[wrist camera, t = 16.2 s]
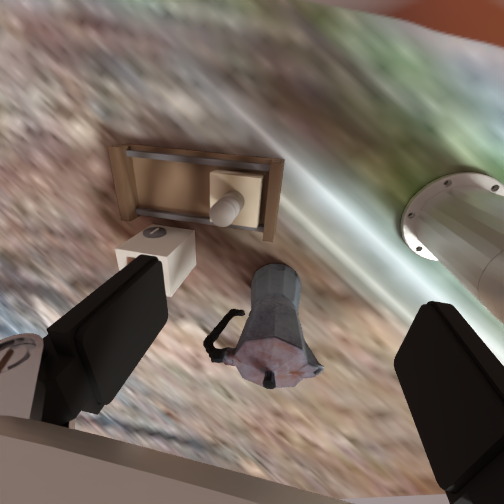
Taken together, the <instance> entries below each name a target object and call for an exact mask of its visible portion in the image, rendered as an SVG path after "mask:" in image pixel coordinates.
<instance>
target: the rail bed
mask: <svg viewBox="0 0 504 504" xmlns="http://www.w3.org/2000/svg"><path fill="white" fill-rule="evenodd" d="M107 147H108V153H109V158H110V163H111V168H112V174H113V179H114V184H115V190H116V195H117V200H118V206H119V211H120V216H121V220H123V221H132V220H133V219H135V218H137V217H139V216H140V215H141V216H149V217H156V218H163V219H170V220H177V221H184V222H191V223H199V224H206V225H213V226H217V225H215V224H214V223H213V222H210V215H209V212H210V172H212V171H214V170H216V169H220V170H229V171H238V172H247V173H256V174H264V182H263V193H262V204H261V214H260V222H259V224H258V226H257V228H253V227H246V226H239V225H232V224H230V225H229V226H226V227H227V228H234V229H241V230H249V231H256V232H263V241H269V242H273V239H274V235H275V231H276V224H277V216H278V208H279V200H280V193H281V185H282V177H283V169H284V161H285V160H283V159H273V158H264V157H254V156H244V155H234V154H224V153H214V152H204V151H194V150H184V149H174V148H164V147H154V146H144V145H134V144H121V145H112V146H107Z"/></svg>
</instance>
